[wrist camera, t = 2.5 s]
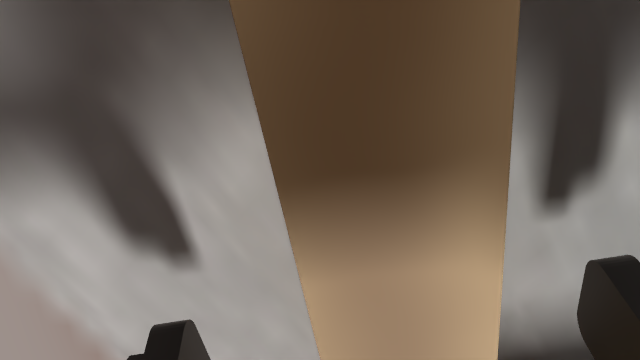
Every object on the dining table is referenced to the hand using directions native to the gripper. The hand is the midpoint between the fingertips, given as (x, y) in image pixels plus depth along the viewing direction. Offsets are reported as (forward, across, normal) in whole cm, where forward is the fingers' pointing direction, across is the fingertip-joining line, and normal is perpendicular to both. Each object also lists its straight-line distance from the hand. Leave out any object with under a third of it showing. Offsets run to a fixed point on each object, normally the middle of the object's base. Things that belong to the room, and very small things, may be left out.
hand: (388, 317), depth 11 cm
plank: (+2, 0, 0) cm, 2 cm away
